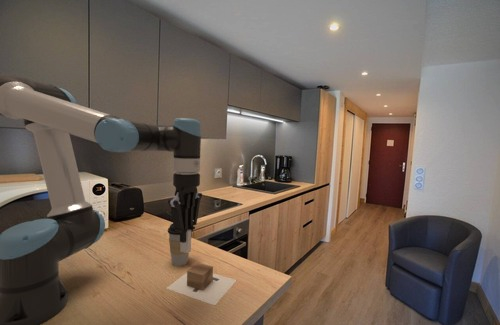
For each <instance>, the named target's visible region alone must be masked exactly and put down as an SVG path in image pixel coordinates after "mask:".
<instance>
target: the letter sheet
mask: <svg viewBox="0 0 500 325" xmlns="http://www.w3.org/2000/svg"><path fill="white" fill-rule="evenodd" d="M236 281H237V280H236V279H234V278H230V277H227V276H224V275H220V274H217V273H214V272H213V281H212V282H211V283H210V284H209V285H208V286H207V287H206V288H205V289H204V290H203V291H202V290H199V289H196V288H193V287H189V286H187V272H185V273H184V274H182V275H181V276H180V277H179V278H178V279H176V280H175V281H174V282H172V283H171V284H170V285H168V286H167V287H165V289H166V290H170V291H172V292H175V293H178V294H181V295H184V296H186V297H189V298H192V299H195V300H198V301H200V302H204V303H206V304H209V305H212V306H216V305H217V303H218V302H219V301H220V300H221V299H222V298H223V297H224V296H225V294H226V293H227V292H228V291H229V290H230V289H231V287H232V286H233V285H234V284H235V283H236Z"/></svg>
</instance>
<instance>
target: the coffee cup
mask: <svg viewBox="0 0 500 325" xmlns="http://www.w3.org/2000/svg"><path fill="white" fill-rule="evenodd" d="M193 231H194V230H193V229H192V232H193ZM167 233H168V237H169V238H168V242H169V252H170V259H171V265H172V266H174V267H182V266H183V267H184V266H185V265H186V264H188V262H189V253H190V252H189V253H184V252H181V251H180V231H175V230H174V225H173V223H171V224H170V225H169V226H168V228H167Z"/></svg>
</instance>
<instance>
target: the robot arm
mask: <svg viewBox="0 0 500 325" xmlns="http://www.w3.org/2000/svg"><path fill="white" fill-rule="evenodd" d="M0 116H2V117H5V118H8V119H12V120H23V121H22V122H23V123H24V124H23V125H24V128H25V129H26V130H27V131H29V132H32V134H33V137H34V141H35V146H36V149H37V153H38V158H39V161H40V166H41V168H42V174H43V177H44V182H45V186H46V190H47V194H48V197H49V198H48V199H49V202H50V207H51V210H50V211H49V212H48V213H47V215H46V217H47V218H39V219H34V220H31V221H29V220H28V221H25V222H22V223H21V222H20V223H18V224H16V225H13V226H11V227H9V228H7V229H5V230H4V231H3V232H1V233H0V325H40V324H42V323H44V322H46V321H48V320H50V319H51V318H53V317H55V316H56V315H57V314H59V312H61V311H62V310H63V308H64V307H65V306H66V305H67V303H68V291H67V289H66V287H65V285H64V283H63V281H62V279H61V277H60V274H59V272H60V271H59V269H60V267H59V265H60V264H59V263H60V262H61V261H62V260H65V259H67V258H69V257H71V256H72V255H75V254H77V253H78V252H80V251H83V250H85V249H87V248H89V247H91V246H92V245H94V244H96V243H97V242H98V241H99V240H101V238H102V237H103V235H104V233H105V229H106V222H105V218H104V216H103V214H102V213H100V212H99V211H98V210H97V209H94V208H93V204H91V203H90V202H88V201H86V199H85V195H84V190H83V185H82V181H81V177H80V173H79V169H78V166H77V165H78V164H77V160H76V156H75V152H74V148H73V144H72V140H71V135H72V136H75V137H79V138H81V139H85V140H87V141H90V142H94V143H97V144H98V146H100V147H101V149H103V150H104V151H108V152H110V153H114V152H115V153H120V154H121V153H129V152H130V153H132V152H134V153H135V152H168V153H169V152H170V153H171V152H173V160H172V161H173V165H172V167H173V168H172V171H173V172H174V173H173V175H172V179H173V180H172V184H173V187H175V191H174V197H173V198H172V199H168V201H167V202H168V205H169V207H170V213H171V217H172V224H173V225H174V230H175V231H180V251H181V252H184V253H190V252H192V236H193V235H192V234H193V233H192V232H193V231H194V230H195V229H196V225H197V223H198V218H199V211H200V203H201V200H202V197H203V193H202V192H199V191H198V188H197V187H200V184H201V174H200V171H201V145H202V144H201V143H202V142H201V141H202V130H201V129H202V128H201V122H200V121H199V120H198V119H195V118H189V117H188V118H187V117H186V118H185V117H180V118H179V117H177V118H175V119H174V121H173V124H172V125H162V124H161V125H159V124H151V123H145V122H143V123H142V122H137V121H132V120H128V119H125V118H122V117H118V116H117V115H111V114H109V113H106V112H102V111H99V110H96V109H94V108H93V109H92V108H90V107H86V106H83V105H81V104H78V103H77V101H76V99H75V97H74V95H72V94H71V93H70V92H69V91H67V90H66V89H64V88H60V87H58V86H56V85H54V84H50V83H44V82H40V81H36V80H32V79H28V78H25V77H21V76H17V75H14V74H8V73H0ZM192 229H193V231H192Z"/></svg>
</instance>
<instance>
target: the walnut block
mask: <svg viewBox="0 0 500 325" xmlns="http://www.w3.org/2000/svg"><path fill="white" fill-rule="evenodd" d="M186 273H187V286H189V287H193V288H196V289H199V290H202V291H203V290H204V289H205V288H206V287H207V286H208V285H209V284H210V283H211V282H212V281H213V273H214V266H212V265H209V264H205V263H202V262H201V263H200V262H196V264H194V265H193V266H192V267H190V268H189V269H188V270H186Z"/></svg>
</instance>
